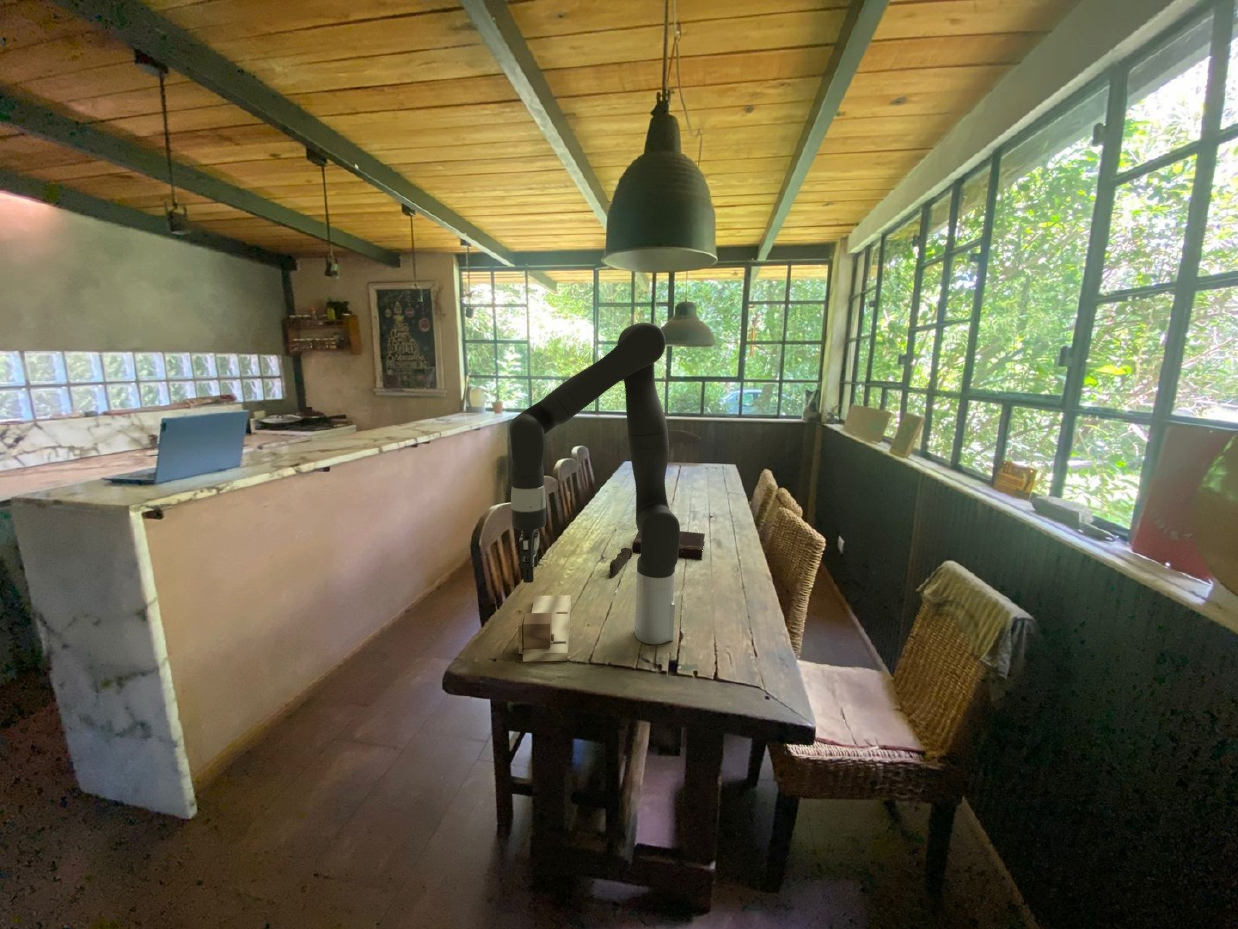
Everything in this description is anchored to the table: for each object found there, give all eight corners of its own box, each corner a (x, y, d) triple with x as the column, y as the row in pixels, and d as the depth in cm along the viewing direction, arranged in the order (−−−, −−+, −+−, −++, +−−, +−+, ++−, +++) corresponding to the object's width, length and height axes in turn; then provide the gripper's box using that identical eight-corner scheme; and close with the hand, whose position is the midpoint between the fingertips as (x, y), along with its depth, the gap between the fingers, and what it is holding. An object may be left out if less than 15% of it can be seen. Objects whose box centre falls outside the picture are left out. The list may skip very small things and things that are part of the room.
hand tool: (621, 557, 170) (621, 544, 169) (632, 558, 169) (632, 546, 168) (602, 578, 152) (602, 564, 152) (614, 580, 151) (614, 566, 150)
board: (570, 601, 136) (570, 594, 135) (567, 660, 108) (567, 651, 108) (535, 602, 135) (535, 595, 134) (522, 661, 107) (522, 652, 107)
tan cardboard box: (554, 640, 114) (554, 612, 113) (553, 653, 109) (553, 623, 108) (521, 641, 113) (521, 613, 112) (518, 653, 109) (518, 624, 107)
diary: (701, 562, 168) (702, 549, 167) (632, 554, 173) (632, 541, 172) (704, 543, 186) (705, 531, 185) (641, 537, 191) (641, 525, 190)
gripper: (542, 514, 99) (544, 587, 102) (548, 496, 113) (549, 561, 116) (506, 515, 98) (509, 588, 101) (516, 497, 112) (518, 561, 115)
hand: (530, 573), depth 109 cm, fingers open, 8 cm apart
